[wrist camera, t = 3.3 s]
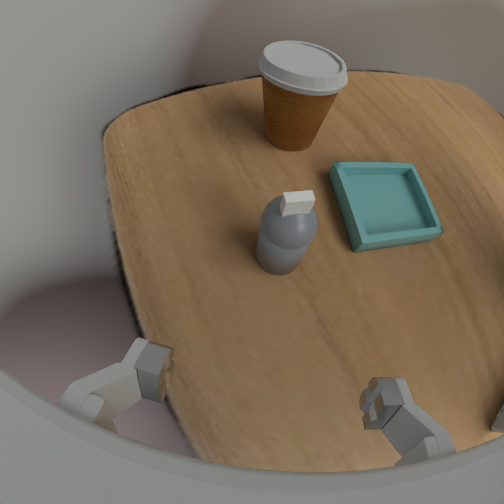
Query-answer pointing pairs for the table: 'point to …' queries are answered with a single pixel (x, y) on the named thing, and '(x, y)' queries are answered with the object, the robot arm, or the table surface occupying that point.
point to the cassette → (499, 422)
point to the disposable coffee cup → (298, 91)
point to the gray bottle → (286, 231)
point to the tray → (383, 204)
